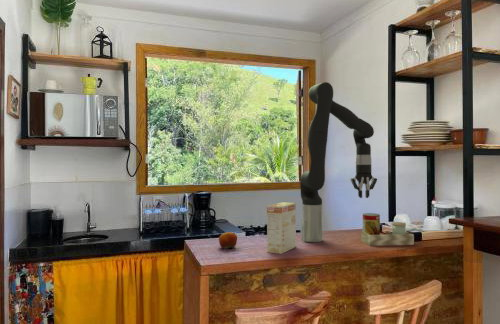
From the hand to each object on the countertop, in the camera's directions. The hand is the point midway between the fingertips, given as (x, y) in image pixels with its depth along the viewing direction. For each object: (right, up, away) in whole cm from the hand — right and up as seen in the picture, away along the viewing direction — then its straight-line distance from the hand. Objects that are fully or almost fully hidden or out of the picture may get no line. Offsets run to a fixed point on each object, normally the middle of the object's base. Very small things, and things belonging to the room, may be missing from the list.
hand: (363, 197), depth 188 cm
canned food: (+1, -19, -10) cm, 22 cm away
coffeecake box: (-44, -19, -30) cm, 57 cm away
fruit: (-68, -20, -26) cm, 75 cm away
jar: (+11, -19, -18) cm, 28 cm away
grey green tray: (+5, -19, -18) cm, 27 cm away
